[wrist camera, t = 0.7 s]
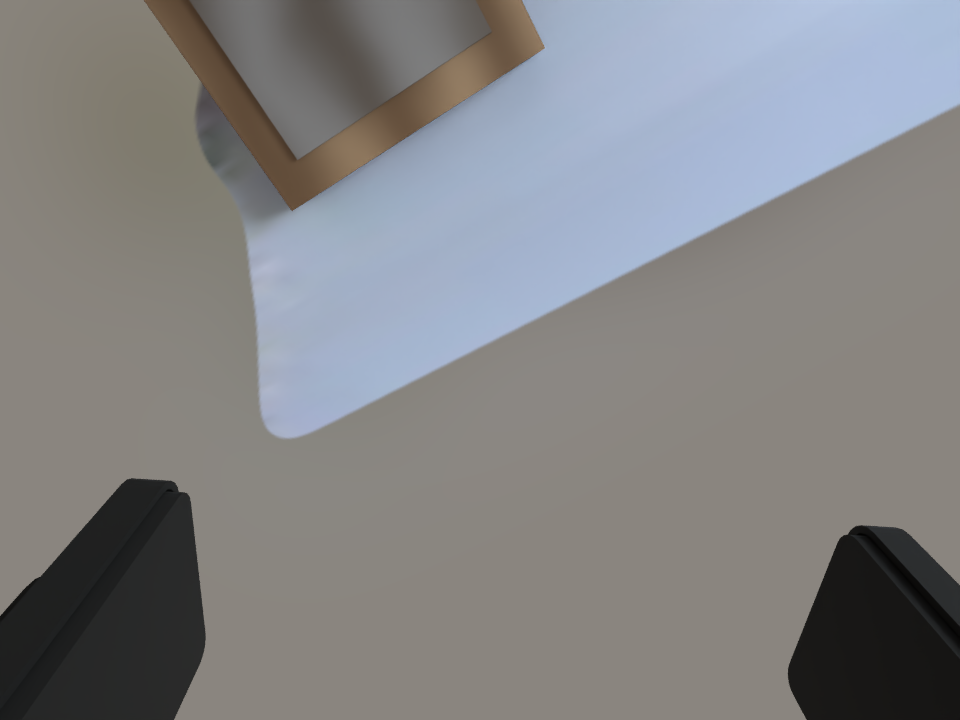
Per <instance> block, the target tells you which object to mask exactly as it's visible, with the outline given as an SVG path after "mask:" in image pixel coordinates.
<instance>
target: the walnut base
mask: <svg viewBox="0 0 960 720" xmlns="http://www.w3.org/2000/svg"><path fill="white" fill-rule="evenodd" d="M144 1H145V2H146V4H147V5H148V7H149V8H150V9H151V11H152V12H153V14H154V15H155V17H156V18H157V19H158V21H159V22H160V24H161V25H162V27H163V28H164V29H165V31H166V32H167V34H168V35H169V37H170V38H171V39H172V41H173V42H174V44H175V45H176V46H177V48H178V49H179V51H180V52H181V54H182V55H183V57H184V58H185V59H186V61H187V62H188V63H189V65H190V67H191V68H192V69H193V71H194V72H195V74H196V75H197V76H198V78H199V79H200V81H201V82H202V84H203V85H204V86H205V88H206V89H207V91H208V92H209V94H210V95H211V96H212V98H213V99H214V101H215V102H216V104H217V105H218V106H219V108H220V109H221V111H222V112H223V114H224V115H225V116H226V118H227V119H228V121H229V122H230V123H231V125H232V126H233V128H234V129H235V131H236V132H237V133H238V135H239V136H240V138H241V139H242V141H243V142H244V143H245V145H246V146H247V148H248V149H249V151H250V152H251V153H252V155H253V156H254V158H255V159H256V161H257V162H258V163H259V165H260V166H261V168H262V169H263V170H264V172H265V173H266V175H267V176H268V178H269V179H270V180H271V182H272V183H273V185H274V186H275V188H276V189H277V190H278V192H279V193H280V195H281V196H282V198H283V199H284V200H285V202H286V203H287V205H288V206H289V208H290V209H291V210H292V211H293V210H294V209H296V208H297V207H299V206H301V205H302V204H304V203H305V202H307V201H308V200H310V199H311V198H313V197H315V196H316V195H318V194H319V193H321V192H322V191H324V190H325V189H327V188H329V187H330V186H332V185H333V184H335V183H336V182H338V181H339V180H341V179H343V178H344V177H346V176H347V175H349V174H350V173H352V172H353V171H355V170H357V169H358V168H360V167H361V166H363V165H364V164H366V163H367V162H369V161H370V160H372V159H374V158H375V157H377V156H378V155H380V154H381V153H383V152H384V151H386V150H388V149H389V148H391V147H392V146H394V145H395V144H397V143H398V142H400V141H402V140H403V139H405V138H406V137H408V136H409V135H411V134H412V133H414V132H415V131H417V130H419V129H420V128H422V127H423V126H425V125H426V124H428V123H429V122H431V121H433V120H434V119H436V118H437V117H439V116H440V115H442V114H443V113H445V112H447V111H448V110H450V109H451V108H453V107H454V106H456V105H457V104H459V103H460V102H462V101H464V100H465V99H467V98H468V97H470V96H471V95H473V94H474V93H476V92H478V91H479V90H481V89H482V88H484V87H485V86H487V85H488V84H490V83H492V82H493V81H495V80H496V79H498V78H499V77H501V76H502V75H504V74H506V73H507V72H509V71H510V70H512V69H513V68H515V67H516V66H518V65H519V64H521V63H523V62H524V61H526V60H527V59H529V58H530V57H532V56H533V55H535V54H537V53H538V52H540V51H541V50H543V49H544V48H545V47H544V45H543V43H542V41H541V39H540V37H539V35H538V33H537V31H536V29H535V27H534V25H533V23H532V21H531V19H530V17H529V15H528V13H527V10H526V8H525V6H524V4H523V2H522V0H144Z"/></svg>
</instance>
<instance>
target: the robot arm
mask: <svg viewBox="0 0 960 720" xmlns="http://www.w3.org/2000/svg"><path fill="white" fill-rule="evenodd" d="M204 648H205V625H204V617H203V607H202V598H201V590H200V581H199V572H198V563H197V554H196V545H195V536H194V527H193V518H192V509H191V501H190V497H189V495H188V494H187V493H183V492H179V491H178V487H177V485H176V484H175V483H174V482H172V481H164V480H148V479H133V478H131V479H128V480H126V481H125V482H124V483H122V484H121V486H120V487H119V488H118V489H117V490H116V491H115V492H114V493H113V495H112V496H111V497H110V498H109V499H108V500H107V501H106V503H105V504H104V505H103V506H102V507H101V508H100V509H99V511H98V512H97V513H96V514H95V515H94V516H93V518H92V519H91V520H90V521H89V522H88V523H87V524H86V525H85V527H84V528H83V529H82V530H81V531H80V532H79V534H78V535H77V536H76V537H75V538H74V539H73V540H72V541H71V543H70V544H69V545H68V546H67V547H66V549H65V550H64V551H63V552H62V553H61V554H60V555H59V556H58V557H57V559H56V560H55V561H54V562H53V563H52V565H50V567H49V568H48V569H47V570H46V571H45V572H44V573H43V575H42V576H41V577H39V578H37V579H35V580H34V581H32V582H31V583H30V584H29V585H28V586H27V587H26V588H25V589H24V590H23V591H22V592H21V593H20V594H19V596H18V597H17V598H16V599H15V600H14V601H13V602H12V603H11V604H10V606H9V607H8V608H7V609H6V610H5V611H4V612H3V614H2V615H1V616H0V720H174V718H175V716H176V714H177V712H178V709H179V708H180V705H181V703H182V701H183V699H184V697H185V695H186V693H187V690H188V688H189V686H190V684H191V682H192V680H193V677H194V675H195V673H196V671H197V669H198V667H199V664H200V662H201V659H202V656H203V652H204ZM788 680H789V685H790V688H791V691H792V693H793V695H794V697H795V699H796V701H797V703H798V704H799V706H800V708H801V710H802V712H803V714H804V715H805V717H806V719H807V720H960V585H959V584H958V583H957V582H956V581H955V580H954V579H953V578H952V577H951V576H950V575H949V574H948V573H947V572H946V571H945V570H944V569H943V568H942V567H941V566H940V565H939V564H938V563H937V562H936V561H935V560H934V559H933V558H932V557H931V556H930V555H929V554H928V553H927V552H926V551H925V550H924V549H923V548H922V547H921V546H920V545H919V544H918V543H917V542H916V541H915V540H914V539H913V538H912V537H911V536H910V535H909V534H907V532H905V531H904V530H902V529H899V528H894V527H878V526H862V525H861V526H856V527H854V528H853V529H852V530H851V531H850V532H849V534H848V535H844V536H843V537H841V538H840V539H839V541H838V543H837V546H836V548H835V551H834V553H833V556H832V558H831V561H830V563H829V566H828V568H827V571H826V573H825V576H824V578H823V581H822V583H821V586H820V588H819V591H818V593H817V596H816V599H815V601H814V603H813V606H812V608H811V611H810V613H809V616H808V618H807V621H806V623H805V626H804V628H803V631H802V634H801V636H800V639H799V641H798V644H797V646H796V649H795V651H794V654H793V656H792V659H791V661H790V664H789V668H788Z"/></svg>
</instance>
